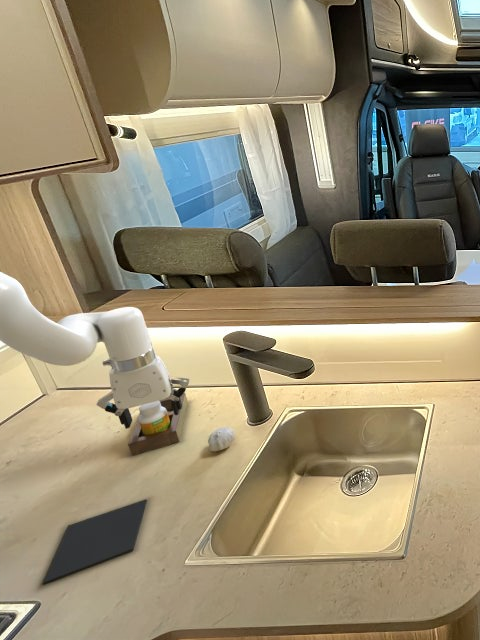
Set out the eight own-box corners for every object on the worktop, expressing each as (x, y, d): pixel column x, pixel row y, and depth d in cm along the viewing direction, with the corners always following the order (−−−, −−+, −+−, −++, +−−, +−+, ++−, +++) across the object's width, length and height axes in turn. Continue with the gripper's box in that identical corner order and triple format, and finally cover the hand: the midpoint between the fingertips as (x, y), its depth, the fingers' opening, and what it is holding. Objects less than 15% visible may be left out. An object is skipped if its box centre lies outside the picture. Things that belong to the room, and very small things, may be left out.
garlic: (225, 456, 99) (221, 439, 97) (203, 455, 99) (198, 438, 97) (242, 437, 104) (238, 420, 103) (221, 436, 105) (216, 419, 103)
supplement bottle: (158, 446, 101) (147, 414, 98) (140, 442, 102) (128, 411, 99) (178, 430, 106) (169, 399, 103) (161, 427, 107) (151, 396, 104)
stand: (132, 455, 98) (128, 444, 97) (146, 413, 111) (143, 402, 110) (179, 441, 103) (175, 430, 101) (188, 402, 116) (185, 392, 115)
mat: (43, 584, 72) (42, 582, 72) (69, 527, 82) (68, 525, 81) (133, 550, 78) (132, 548, 77) (147, 500, 87) (146, 499, 87)
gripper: (77, 378, 89) (102, 441, 95) (178, 356, 97) (195, 415, 103) (89, 361, 95) (111, 420, 101) (182, 342, 103) (198, 398, 109)
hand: (154, 418), depth 102 cm, fingers open, 9 cm apart
